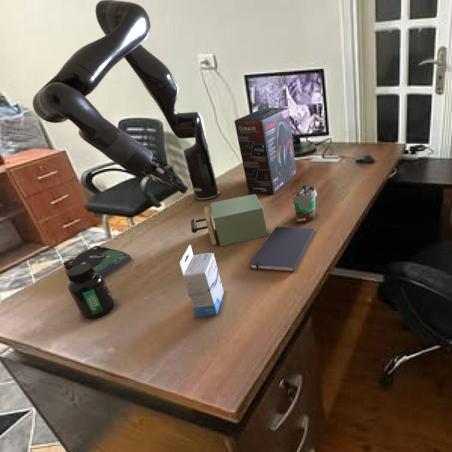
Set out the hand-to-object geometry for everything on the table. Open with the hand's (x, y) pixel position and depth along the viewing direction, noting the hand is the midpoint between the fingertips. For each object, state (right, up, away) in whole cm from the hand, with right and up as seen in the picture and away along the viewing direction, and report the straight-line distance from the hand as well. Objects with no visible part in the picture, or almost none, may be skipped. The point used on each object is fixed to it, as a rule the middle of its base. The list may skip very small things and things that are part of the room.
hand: (178, 188), depth 100 cm
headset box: (+18, +8, +53) cm, 56 cm away
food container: (+36, -8, +21) cm, 42 cm away
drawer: (+9, -13, +13) cm, 20 cm away
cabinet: (+14, -13, +15) cm, 24 cm away
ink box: (+15, -29, -17) cm, 37 cm away
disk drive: (-24, -22, +2) cm, 33 cm away
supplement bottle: (-12, -31, -16) cm, 37 cm away
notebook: (+30, -18, +3) cm, 35 cm away
